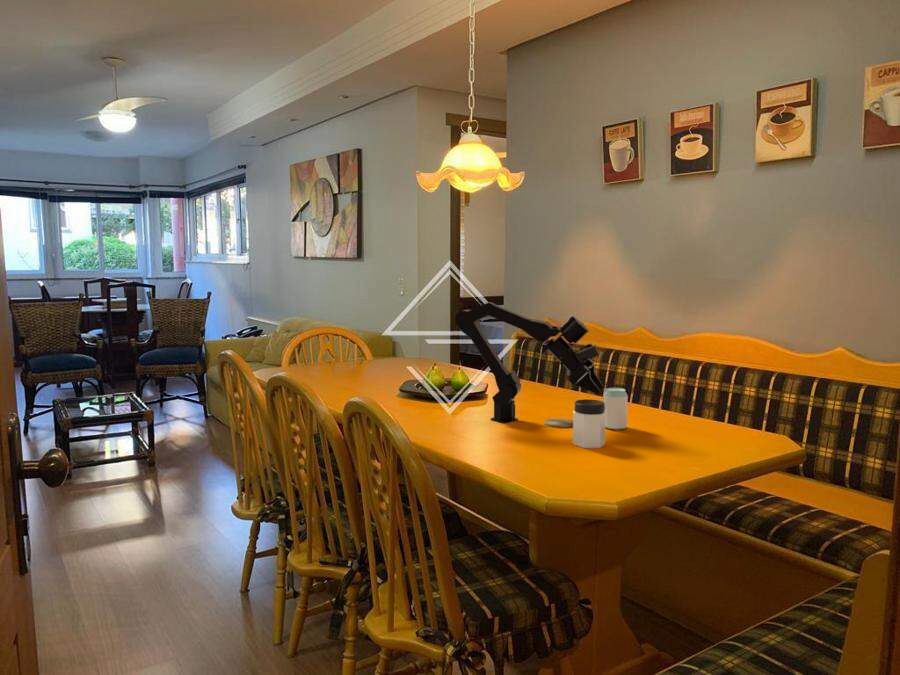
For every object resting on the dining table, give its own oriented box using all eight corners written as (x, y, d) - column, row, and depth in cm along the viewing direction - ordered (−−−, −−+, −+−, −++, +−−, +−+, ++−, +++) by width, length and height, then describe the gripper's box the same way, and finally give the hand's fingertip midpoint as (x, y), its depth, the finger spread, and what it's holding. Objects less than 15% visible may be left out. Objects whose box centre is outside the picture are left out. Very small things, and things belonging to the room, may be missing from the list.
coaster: (569, 429, 205) (569, 427, 205) (539, 425, 210) (539, 423, 210) (581, 422, 214) (581, 420, 214) (551, 418, 219) (551, 417, 219)
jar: (611, 446, 186) (612, 403, 185) (588, 450, 182) (589, 406, 181) (589, 438, 194) (590, 397, 193) (567, 442, 190) (567, 400, 189)
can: (629, 426, 208) (630, 388, 207) (623, 431, 202) (624, 392, 201) (607, 424, 212) (608, 386, 210) (600, 428, 206) (600, 390, 204)
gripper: (580, 339, 198) (618, 378, 196) (587, 332, 216) (622, 368, 213) (553, 365, 201) (590, 403, 199) (562, 356, 219) (596, 391, 217)
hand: (600, 390), depth 207 cm, fingers open, 9 cm apart
